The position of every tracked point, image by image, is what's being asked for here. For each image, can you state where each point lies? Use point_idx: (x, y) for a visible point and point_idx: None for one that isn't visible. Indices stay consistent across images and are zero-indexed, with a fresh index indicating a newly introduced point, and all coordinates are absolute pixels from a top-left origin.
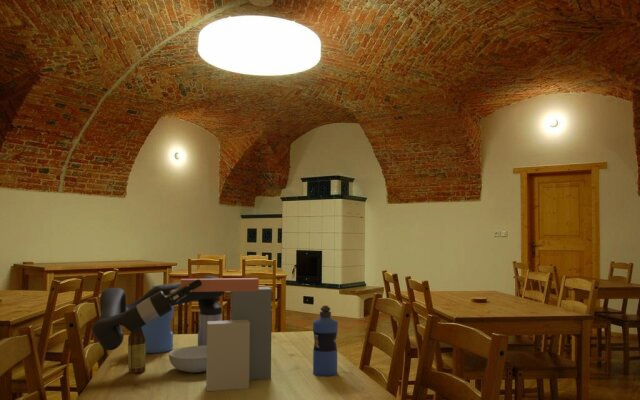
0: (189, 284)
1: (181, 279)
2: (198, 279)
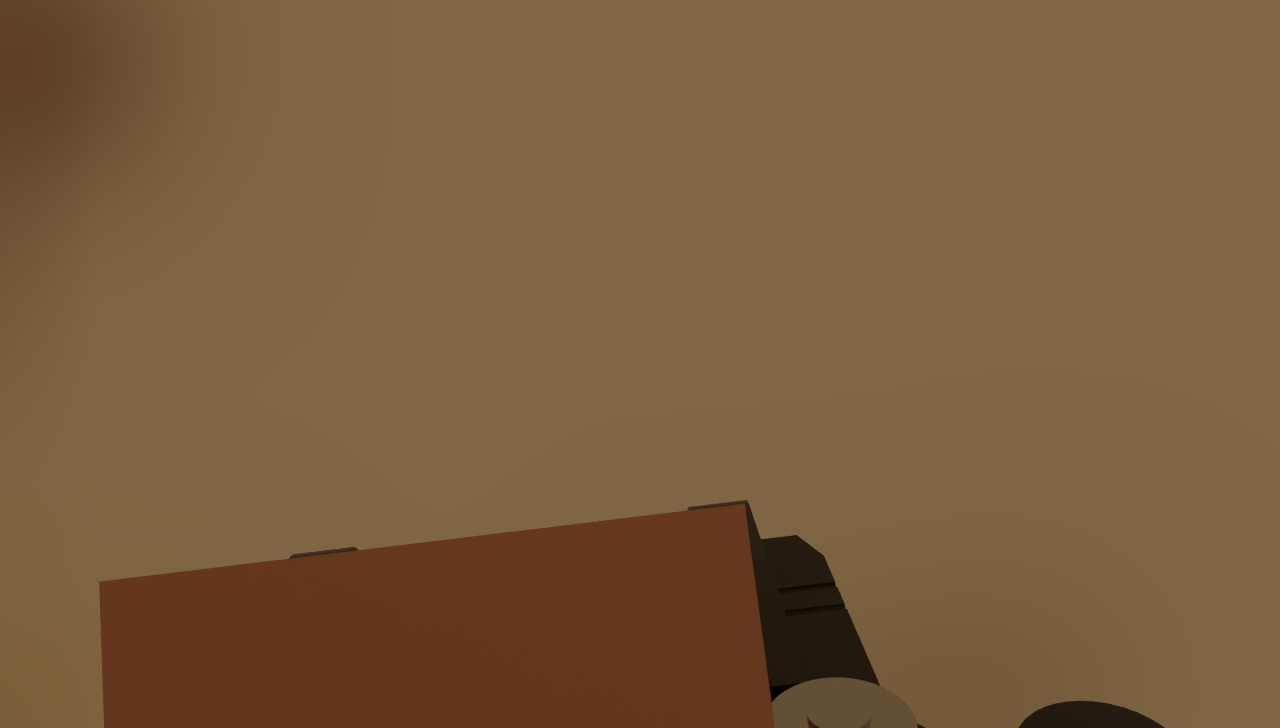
0: (806, 678)
1: (492, 534)
2: (744, 503)
